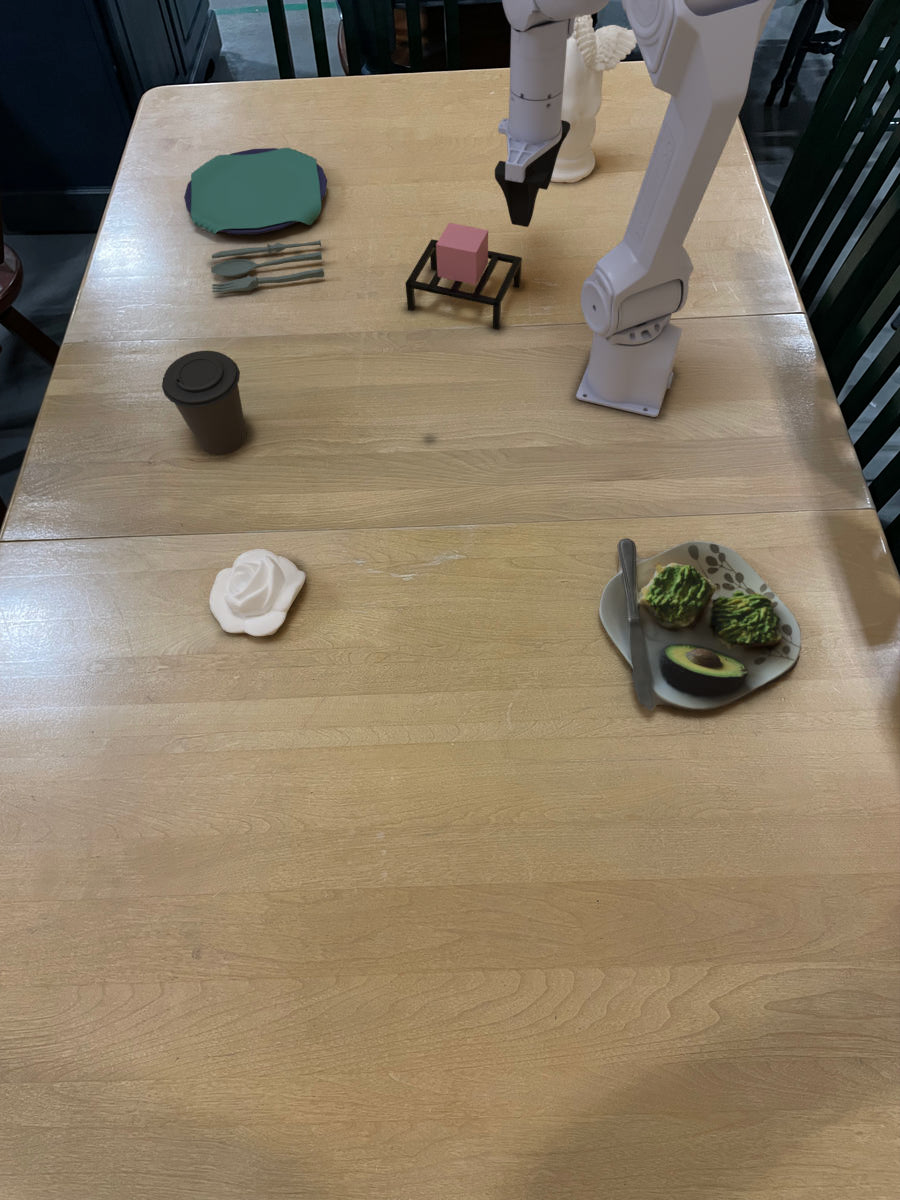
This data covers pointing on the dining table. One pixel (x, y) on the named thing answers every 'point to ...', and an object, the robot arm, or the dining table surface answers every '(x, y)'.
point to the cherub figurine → (586, 91)
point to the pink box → (462, 253)
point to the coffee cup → (208, 399)
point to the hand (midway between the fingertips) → (530, 205)
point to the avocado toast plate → (697, 626)
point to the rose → (255, 593)
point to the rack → (454, 290)
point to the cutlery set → (257, 206)
